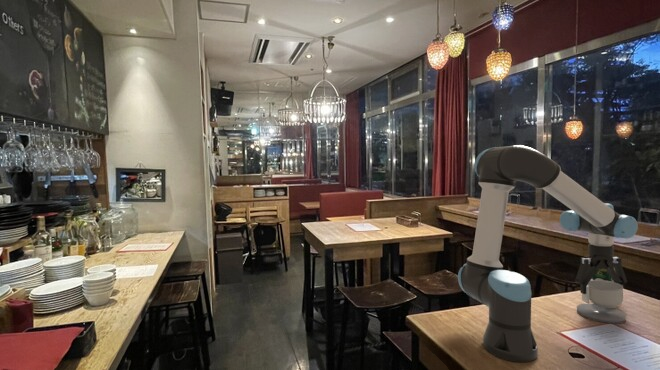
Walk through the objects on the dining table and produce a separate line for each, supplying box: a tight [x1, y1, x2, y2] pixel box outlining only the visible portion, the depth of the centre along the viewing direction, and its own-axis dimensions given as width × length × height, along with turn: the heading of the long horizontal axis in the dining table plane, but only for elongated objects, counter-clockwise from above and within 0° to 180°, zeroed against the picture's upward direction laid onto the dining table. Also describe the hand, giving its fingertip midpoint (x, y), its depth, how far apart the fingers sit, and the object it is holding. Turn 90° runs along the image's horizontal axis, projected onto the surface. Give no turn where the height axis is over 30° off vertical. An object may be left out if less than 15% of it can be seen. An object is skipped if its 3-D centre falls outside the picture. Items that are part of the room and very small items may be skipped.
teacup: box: [588, 278, 624, 309], centre depth 129 cm, size 14×11×8 cm
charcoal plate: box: [576, 303, 627, 325], centre depth 129 cm, size 15×15×2 cm
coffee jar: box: [591, 262, 616, 282], centre depth 143 cm, size 10×8×19 cm
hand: (600, 301), depth 129 cm, fingers closed on teacup, 11 cm apart
